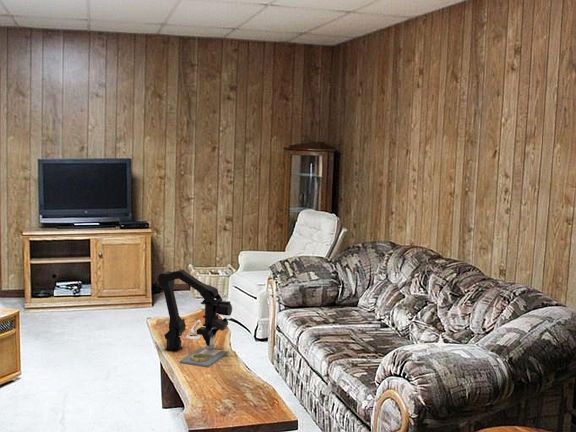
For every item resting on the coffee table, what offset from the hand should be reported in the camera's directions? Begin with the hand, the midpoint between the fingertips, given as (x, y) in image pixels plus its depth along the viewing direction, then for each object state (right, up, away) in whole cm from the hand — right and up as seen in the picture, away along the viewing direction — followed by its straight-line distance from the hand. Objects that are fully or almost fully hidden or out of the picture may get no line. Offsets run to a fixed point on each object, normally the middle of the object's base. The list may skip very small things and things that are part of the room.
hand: (210, 344), depth 336 cm
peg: (0, -3, 0) cm, 3 cm away
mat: (0, -4, 0) cm, 4 cm away
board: (-2, -6, -6) cm, 8 cm away
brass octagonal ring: (-4, -5, -10) cm, 12 cm away
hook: (-12, -2, +27) cm, 30 cm away
